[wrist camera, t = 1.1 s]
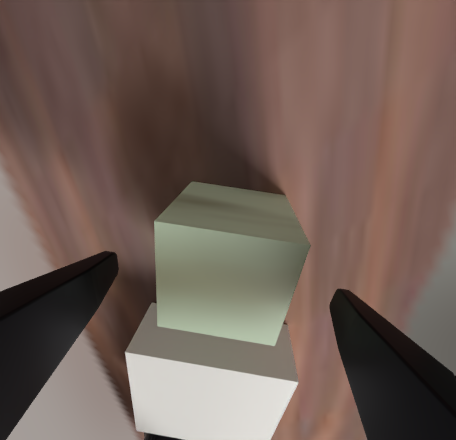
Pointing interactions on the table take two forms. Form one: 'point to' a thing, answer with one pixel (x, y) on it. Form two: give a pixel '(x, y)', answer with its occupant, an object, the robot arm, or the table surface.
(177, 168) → the table surface
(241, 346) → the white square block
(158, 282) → the green cube
